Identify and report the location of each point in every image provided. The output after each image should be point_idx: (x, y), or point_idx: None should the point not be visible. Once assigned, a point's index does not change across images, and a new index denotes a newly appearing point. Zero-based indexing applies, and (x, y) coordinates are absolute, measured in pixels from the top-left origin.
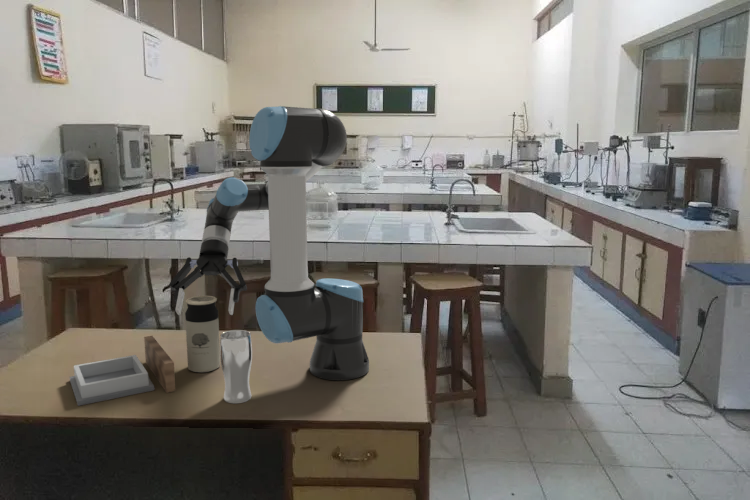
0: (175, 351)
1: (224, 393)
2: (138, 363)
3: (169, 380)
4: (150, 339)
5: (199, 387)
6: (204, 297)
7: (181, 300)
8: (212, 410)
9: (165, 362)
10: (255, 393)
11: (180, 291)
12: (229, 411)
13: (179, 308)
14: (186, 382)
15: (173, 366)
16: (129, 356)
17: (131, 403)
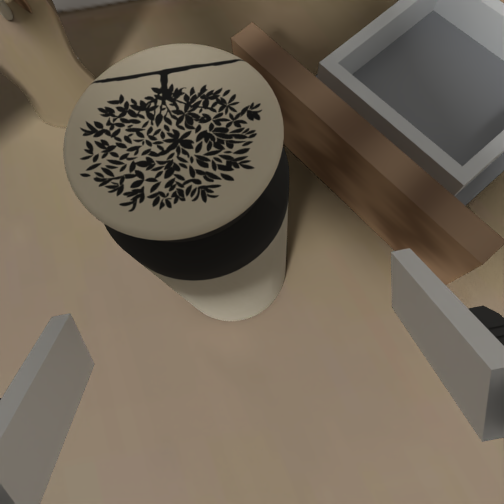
0: (418, 406)
1: (90, 74)
2: (397, 118)
3: None
4: (454, 216)
5: None
6: (164, 177)
7: (431, 331)
8: (110, 37)
9: (256, 31)
10: (30, 129)
11: (479, 340)
12: (71, 40)
13: (399, 280)
14: None
15: (233, 47)
16: (473, 166)
17: (311, 29)
